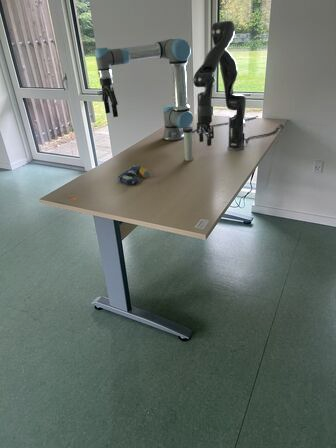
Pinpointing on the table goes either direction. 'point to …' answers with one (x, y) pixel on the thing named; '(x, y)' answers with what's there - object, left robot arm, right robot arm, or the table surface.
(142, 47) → the left robot arm
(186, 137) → the bottle
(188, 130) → the lid
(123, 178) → the spray gun
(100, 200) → the table surface
